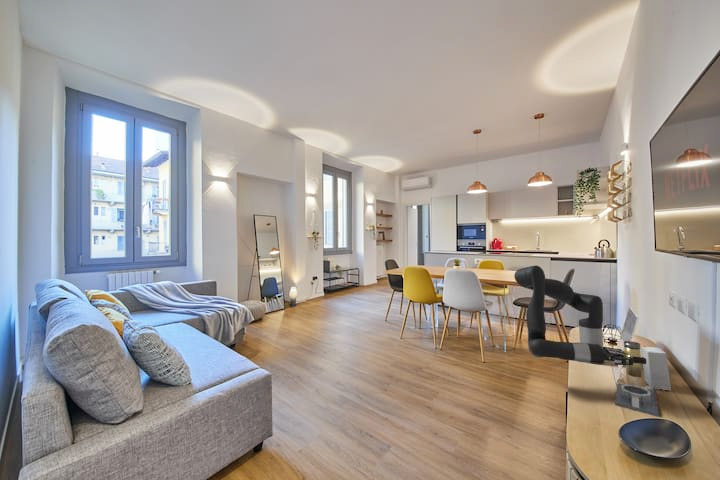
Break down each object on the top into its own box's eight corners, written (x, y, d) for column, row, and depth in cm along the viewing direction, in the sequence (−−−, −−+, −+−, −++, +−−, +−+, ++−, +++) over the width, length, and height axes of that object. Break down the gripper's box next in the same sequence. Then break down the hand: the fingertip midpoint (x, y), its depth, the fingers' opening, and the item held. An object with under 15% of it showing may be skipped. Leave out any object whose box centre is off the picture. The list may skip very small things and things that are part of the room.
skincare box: (671, 391, 112) (668, 353, 113) (650, 388, 115) (647, 351, 116) (662, 382, 119) (659, 347, 120) (642, 380, 122) (640, 345, 123)
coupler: (625, 371, 111) (623, 340, 112) (642, 374, 108) (640, 342, 109) (625, 375, 108) (623, 343, 109) (642, 378, 105) (640, 345, 105)
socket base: (617, 385, 119) (617, 376, 119) (655, 393, 111) (655, 384, 111) (615, 405, 105) (614, 395, 105) (658, 416, 97) (657, 406, 97)
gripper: (591, 349, 108) (651, 355, 101) (580, 338, 121) (633, 342, 114) (592, 369, 108) (653, 376, 101) (581, 356, 121) (634, 361, 114)
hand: (642, 358), depth 107 cm, fingers closed on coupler, 4 cm apart
